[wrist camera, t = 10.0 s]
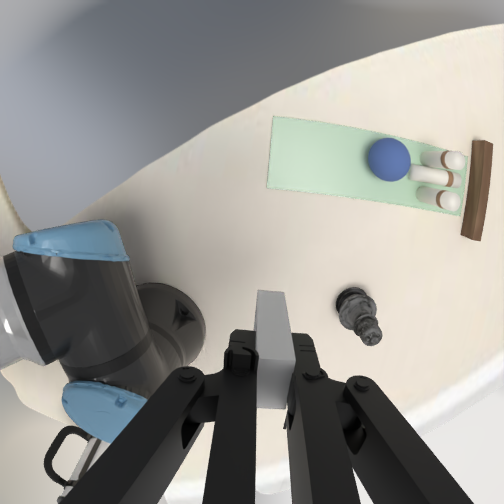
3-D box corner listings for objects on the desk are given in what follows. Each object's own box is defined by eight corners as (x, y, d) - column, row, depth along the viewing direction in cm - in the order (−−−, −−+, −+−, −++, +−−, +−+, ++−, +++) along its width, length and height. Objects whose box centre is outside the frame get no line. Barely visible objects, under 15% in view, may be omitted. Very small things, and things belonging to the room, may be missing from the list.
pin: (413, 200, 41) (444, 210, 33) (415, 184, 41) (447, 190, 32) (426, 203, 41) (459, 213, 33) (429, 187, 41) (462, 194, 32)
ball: (415, 184, 37) (377, 184, 42) (414, 143, 37) (376, 144, 41) (404, 178, 33) (361, 178, 37) (402, 131, 32) (360, 134, 37)
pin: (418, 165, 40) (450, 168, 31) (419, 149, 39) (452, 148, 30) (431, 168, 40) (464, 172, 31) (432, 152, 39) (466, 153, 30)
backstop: (460, 234, 42) (472, 239, 39) (472, 140, 38) (484, 140, 35) (468, 235, 42) (480, 241, 39) (480, 143, 38) (493, 143, 35)
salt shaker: (343, 280, 45) (367, 318, 34) (375, 291, 46) (405, 328, 34) (328, 314, 47) (346, 358, 35) (359, 323, 47) (383, 366, 36)
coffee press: (138, 414, 55) (91, 530, 26) (158, 457, 59) (129, 558, 30) (74, 405, 56) (17, 497, 27) (98, 447, 60) (59, 533, 31)
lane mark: (266, 188, 42) (266, 188, 41) (273, 116, 39) (273, 116, 39) (459, 216, 42) (460, 216, 41) (467, 156, 39) (467, 156, 39)
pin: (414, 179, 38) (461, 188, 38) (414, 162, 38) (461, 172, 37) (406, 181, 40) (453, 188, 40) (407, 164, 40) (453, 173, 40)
